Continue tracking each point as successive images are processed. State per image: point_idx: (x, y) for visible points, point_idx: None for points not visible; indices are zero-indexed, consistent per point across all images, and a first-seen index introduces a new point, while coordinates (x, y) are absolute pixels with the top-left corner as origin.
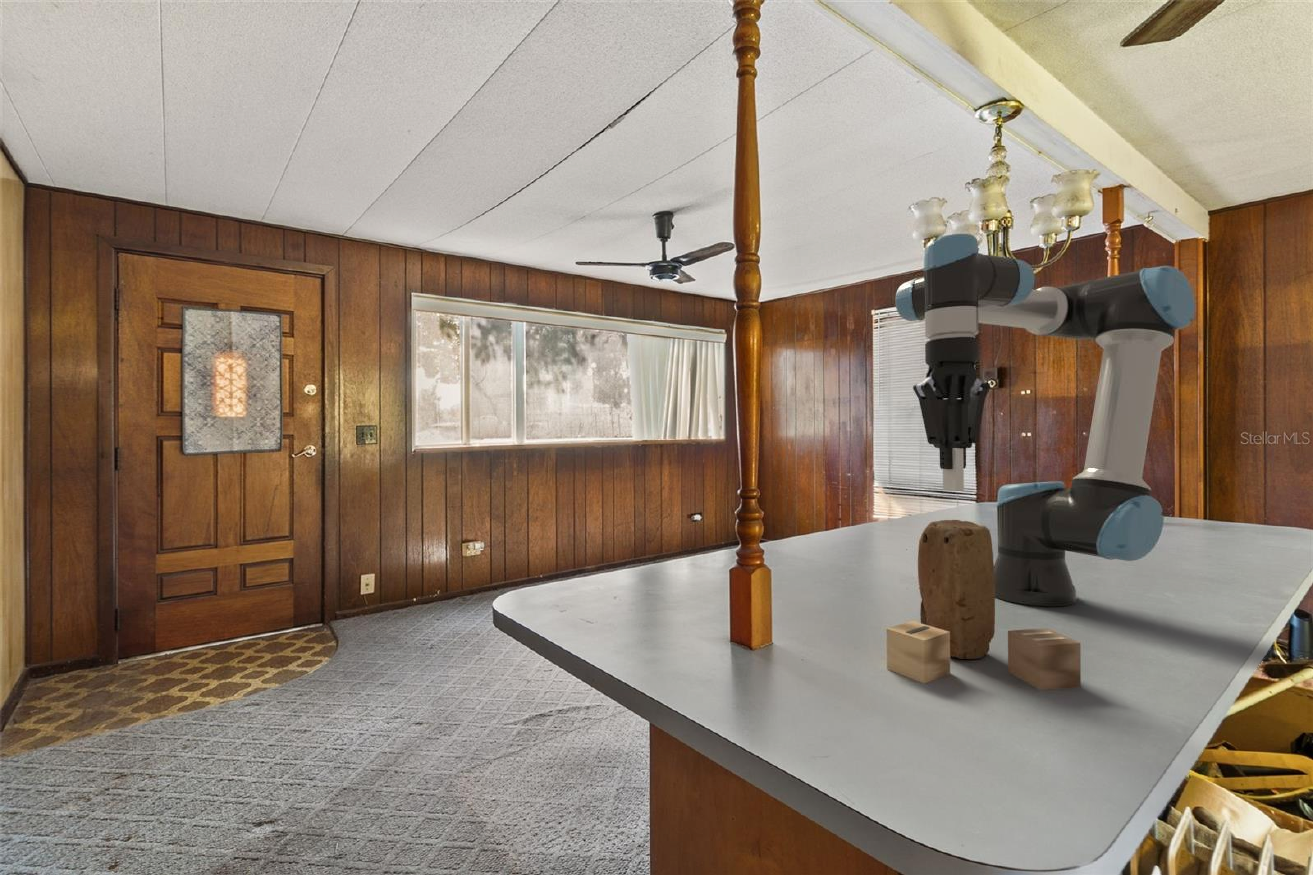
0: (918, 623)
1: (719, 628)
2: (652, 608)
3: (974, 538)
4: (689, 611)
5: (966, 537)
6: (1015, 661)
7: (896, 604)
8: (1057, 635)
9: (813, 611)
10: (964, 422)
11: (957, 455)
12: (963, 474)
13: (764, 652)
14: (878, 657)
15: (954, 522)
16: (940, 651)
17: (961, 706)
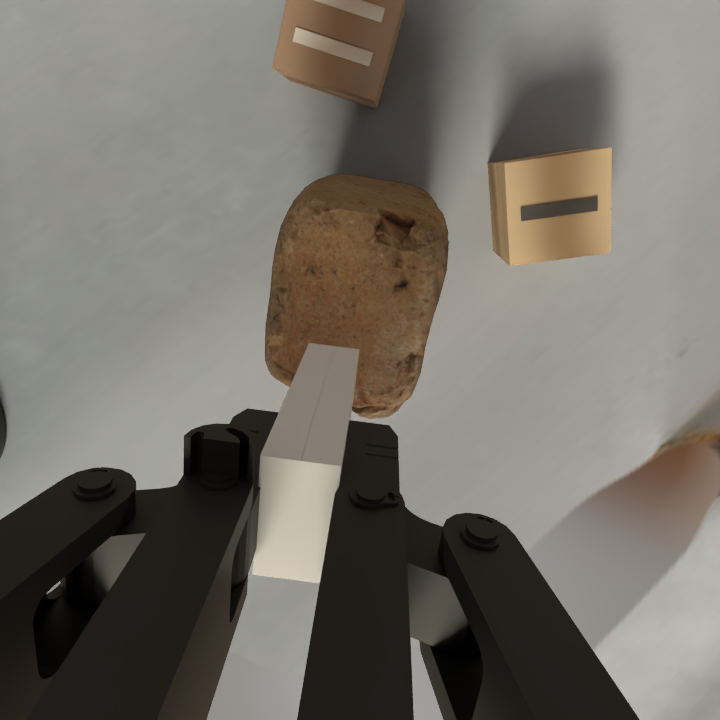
0: (514, 244)
1: (688, 553)
2: (715, 695)
3: (384, 203)
4: (666, 652)
5: (414, 214)
6: (383, 81)
7: None
8: (297, 14)
9: None
10: (144, 641)
11: (327, 436)
12: (295, 374)
13: (714, 415)
14: (542, 293)
15: None
16: (534, 157)
17: (615, 29)
